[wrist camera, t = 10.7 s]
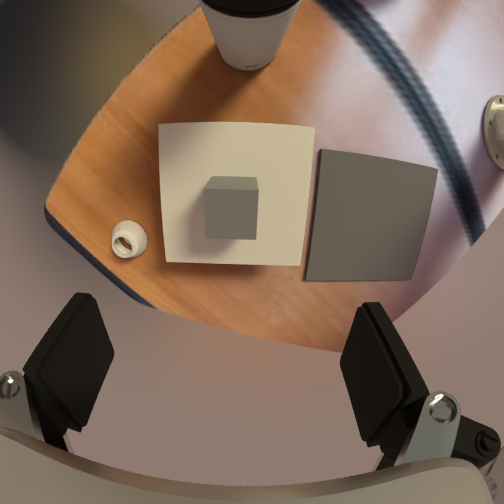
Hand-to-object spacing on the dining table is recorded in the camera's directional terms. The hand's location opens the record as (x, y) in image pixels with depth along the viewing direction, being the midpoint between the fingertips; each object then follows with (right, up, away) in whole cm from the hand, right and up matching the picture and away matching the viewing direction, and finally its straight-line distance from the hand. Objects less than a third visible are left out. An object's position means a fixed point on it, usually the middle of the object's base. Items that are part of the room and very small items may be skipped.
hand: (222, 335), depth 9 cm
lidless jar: (-15, +5, +25) cm, 29 cm away
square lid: (-1, +8, +17) cm, 19 cm away
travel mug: (+1, +25, +15) cm, 29 cm away
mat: (+17, +7, +24) cm, 30 cm away
